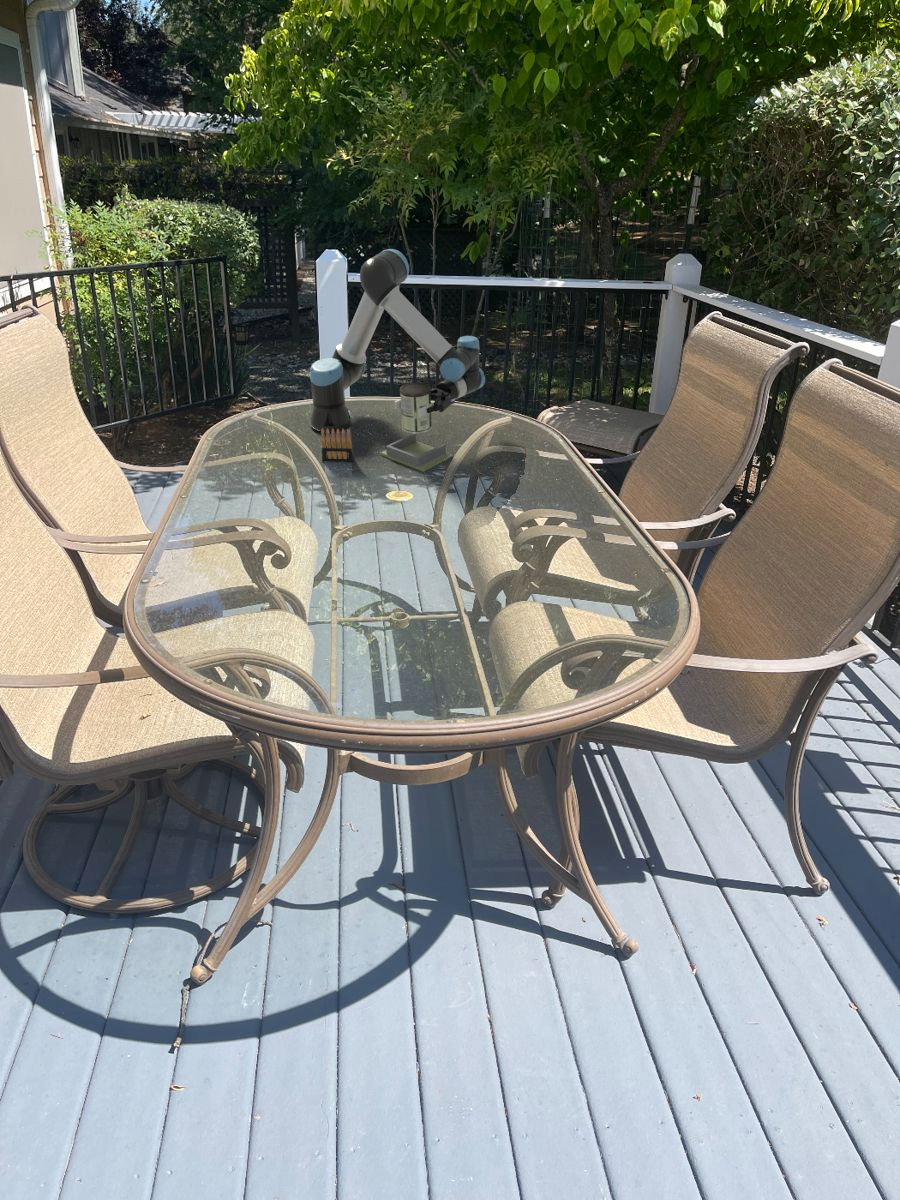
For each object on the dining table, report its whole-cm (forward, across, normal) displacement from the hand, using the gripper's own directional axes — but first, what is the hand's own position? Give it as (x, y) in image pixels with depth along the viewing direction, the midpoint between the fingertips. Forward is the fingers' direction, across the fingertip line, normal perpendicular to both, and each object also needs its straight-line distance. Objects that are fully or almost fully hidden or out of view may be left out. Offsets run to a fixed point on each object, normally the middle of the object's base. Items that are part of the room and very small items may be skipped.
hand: (407, 409), depth 292 cm
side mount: (-4, 0, -18) cm, 19 cm away
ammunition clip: (+16, +18, -18) cm, 30 cm away
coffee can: (-4, 0, -8) cm, 9 cm away
